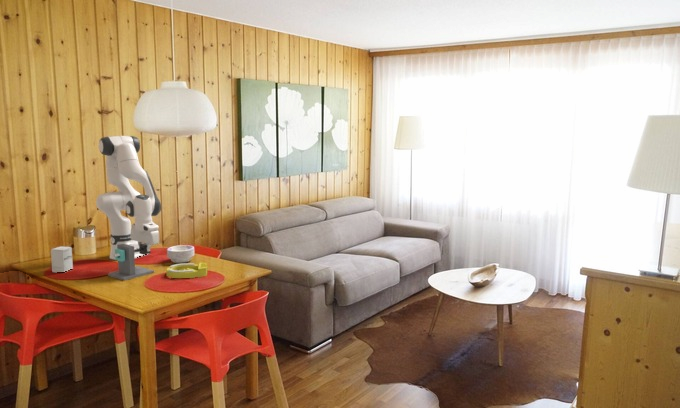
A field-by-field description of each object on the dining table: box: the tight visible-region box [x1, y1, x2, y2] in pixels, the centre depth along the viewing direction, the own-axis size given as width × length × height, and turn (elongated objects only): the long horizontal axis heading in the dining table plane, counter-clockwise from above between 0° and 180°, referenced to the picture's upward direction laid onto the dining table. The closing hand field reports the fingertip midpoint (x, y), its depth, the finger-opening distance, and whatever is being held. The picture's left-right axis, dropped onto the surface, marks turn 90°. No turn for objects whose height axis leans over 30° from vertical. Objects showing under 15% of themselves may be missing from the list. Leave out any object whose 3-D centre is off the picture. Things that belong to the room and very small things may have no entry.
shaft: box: [114, 243, 151, 257], centre depth 282 cm, size 20×4×5 cm, turn 146°
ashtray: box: [165, 262, 208, 279], centre depth 284 cm, size 16×21×5 cm
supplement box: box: [50, 245, 74, 273], centre depth 286 cm, size 7×7×13 cm
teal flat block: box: [115, 249, 125, 262], centre depth 277 cm, size 2×6×6 cm, turn 56°
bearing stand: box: [107, 244, 155, 281], centre depth 282 cm, size 18×14×16 cm
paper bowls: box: [166, 244, 195, 264], centre depth 310 cm, size 15×15×8 cm
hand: (144, 250), depth 289 cm, fingers closed on shaft, 4 cm apart
